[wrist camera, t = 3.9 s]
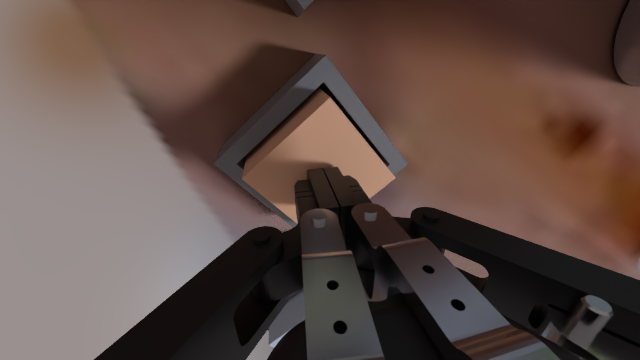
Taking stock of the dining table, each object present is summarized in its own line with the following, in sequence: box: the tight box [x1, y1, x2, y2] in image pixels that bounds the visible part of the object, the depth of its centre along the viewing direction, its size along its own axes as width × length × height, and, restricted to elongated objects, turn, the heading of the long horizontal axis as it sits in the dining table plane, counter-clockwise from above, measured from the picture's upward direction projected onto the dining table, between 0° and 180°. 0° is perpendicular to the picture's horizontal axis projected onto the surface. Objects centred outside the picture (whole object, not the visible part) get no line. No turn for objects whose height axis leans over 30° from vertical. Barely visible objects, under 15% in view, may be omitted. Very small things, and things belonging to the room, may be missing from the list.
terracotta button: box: [242, 88, 396, 224], centre depth 14 cm, size 5×5×3 cm
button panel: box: [213, 0, 408, 331], centre depth 15 cm, size 11×36×3 cm, turn 1°
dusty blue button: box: [269, 288, 305, 347], centre depth 19 cm, size 5×5×3 cm
